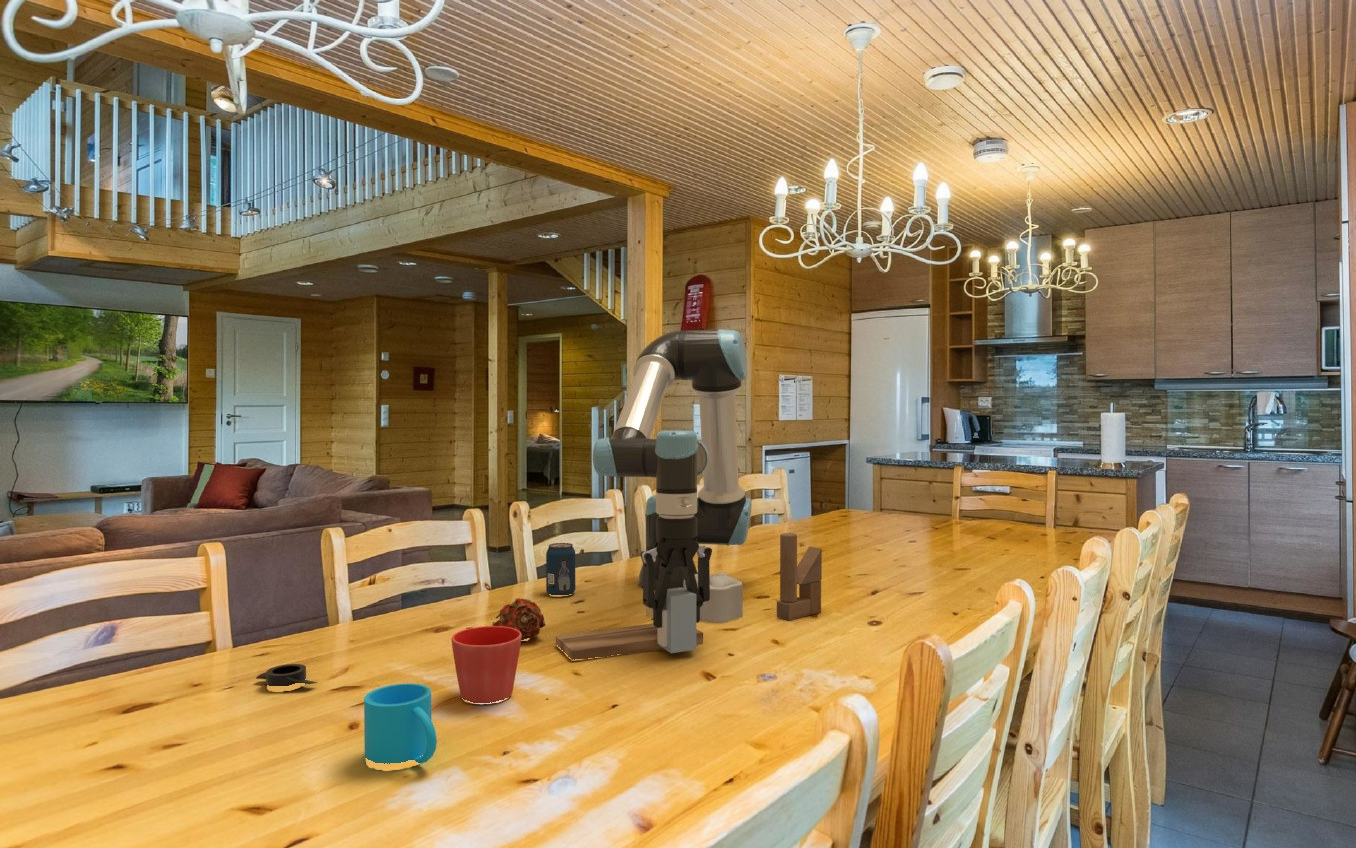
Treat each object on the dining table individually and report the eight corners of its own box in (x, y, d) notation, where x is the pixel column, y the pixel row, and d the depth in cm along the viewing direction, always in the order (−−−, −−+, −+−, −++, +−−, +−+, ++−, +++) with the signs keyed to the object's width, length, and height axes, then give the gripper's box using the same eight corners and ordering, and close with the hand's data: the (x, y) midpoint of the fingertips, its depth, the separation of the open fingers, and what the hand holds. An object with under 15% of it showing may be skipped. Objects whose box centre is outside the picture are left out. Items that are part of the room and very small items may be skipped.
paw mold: (718, 625, 163) (719, 583, 163) (671, 614, 172) (671, 574, 172) (748, 615, 171) (748, 575, 171) (702, 605, 180) (702, 567, 179)
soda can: (560, 590, 194) (560, 541, 194) (581, 594, 190) (581, 544, 190) (540, 595, 188) (539, 545, 188) (561, 599, 184) (561, 548, 184)
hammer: (638, 631, 154) (638, 580, 153) (662, 628, 156) (662, 577, 156) (671, 653, 140) (671, 597, 140) (696, 649, 142) (696, 594, 142)
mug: (352, 759, 101) (351, 696, 101) (408, 738, 108) (408, 679, 107) (404, 787, 94) (404, 719, 93) (462, 763, 100) (462, 699, 100)
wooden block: (821, 612, 173) (822, 530, 172) (788, 621, 166) (789, 536, 165) (808, 609, 175) (809, 528, 175) (775, 617, 169) (776, 533, 168)
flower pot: (535, 688, 126) (534, 628, 126) (497, 714, 116) (497, 648, 116) (477, 681, 130) (477, 622, 130) (436, 705, 119) (436, 641, 119)
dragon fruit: (536, 655, 148) (502, 651, 156) (563, 621, 153) (529, 618, 162) (509, 623, 145) (476, 620, 154) (538, 590, 150) (505, 589, 159)
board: (555, 646, 148) (555, 635, 148) (680, 629, 159) (680, 619, 159) (572, 662, 139) (572, 650, 139) (703, 643, 150) (703, 632, 150)
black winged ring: (265, 702, 121) (265, 683, 121) (254, 684, 129) (254, 666, 129) (319, 691, 126) (319, 673, 126) (305, 674, 134) (305, 657, 134)
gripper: (638, 521, 136) (638, 655, 137) (730, 515, 144) (730, 642, 144) (622, 515, 143) (623, 643, 143) (711, 510, 151) (711, 631, 151)
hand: (676, 642), depth 144 cm, fingers closed on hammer, 5 cm apart
